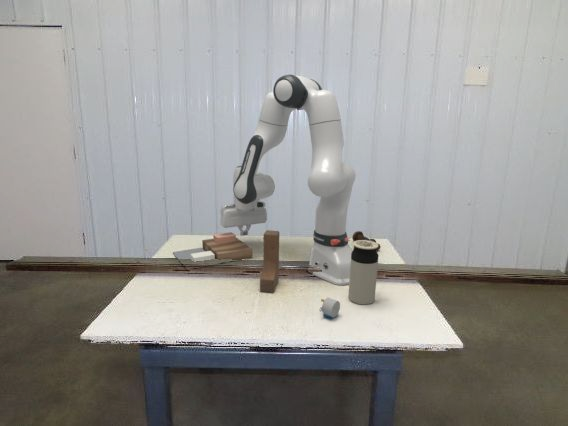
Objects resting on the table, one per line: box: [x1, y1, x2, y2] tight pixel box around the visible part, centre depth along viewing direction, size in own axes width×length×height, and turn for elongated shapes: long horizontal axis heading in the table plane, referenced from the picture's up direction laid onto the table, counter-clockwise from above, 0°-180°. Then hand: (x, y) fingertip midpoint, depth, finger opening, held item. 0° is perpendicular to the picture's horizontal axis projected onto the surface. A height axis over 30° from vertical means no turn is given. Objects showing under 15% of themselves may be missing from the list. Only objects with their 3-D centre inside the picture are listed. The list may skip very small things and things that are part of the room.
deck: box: [201, 237, 253, 261], centre depth 150 cm, size 19×14×4 cm
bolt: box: [351, 230, 381, 252], centre depth 162 cm, size 6×5×15 cm
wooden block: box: [259, 229, 280, 293], centre depth 119 cm, size 9×4×18 cm, turn 170°
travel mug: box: [348, 240, 379, 305], centre depth 112 cm, size 8×8×18 cm
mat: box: [172, 247, 205, 260], centre depth 144 cm, size 20×12×1 cm, turn 30°
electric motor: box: [319, 297, 341, 320], centre depth 103 cm, size 7×5×5 cm
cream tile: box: [190, 251, 215, 262], centre depth 140 cm, size 5×8×2 cm, turn 120°
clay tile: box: [212, 232, 237, 244], centre depth 153 cm, size 5×8×2 cm, turn 120°
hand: (244, 234), depth 158 cm, fingers closed
